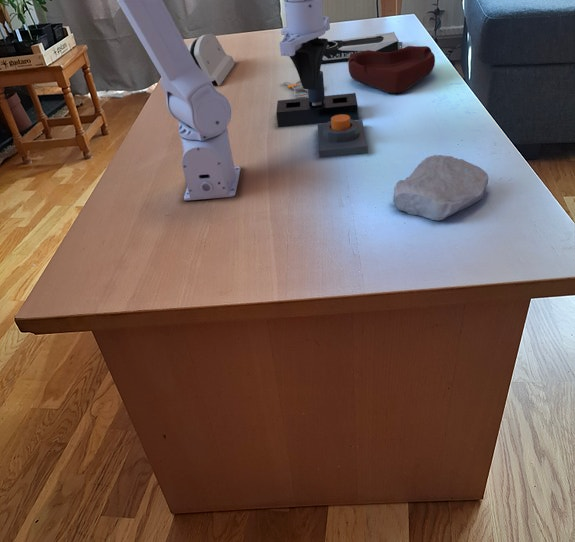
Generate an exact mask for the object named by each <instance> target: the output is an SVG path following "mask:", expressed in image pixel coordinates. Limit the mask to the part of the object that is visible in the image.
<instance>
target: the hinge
mask: <svg viewBox="0 0 575 542" xmlns="http://www.w3.org/2000/svg"><path fill="white" fill-rule="evenodd" d="M187 48H188V50H189V52H190V53H191V55H192V57H193V59H194V61H195V63H196V65H197V66H198V67H199V68H200V69H201V70H202V71H203V72H204V74H205V75H206V76H207V77H208V78H209V79H210V80H211V82H212V83H213V82H214V81H215V82H216V84H217V86H218V87H219V86H221V85H222V83H223V82H224V80H225V78H226V77H227V76H228V74H229V73H230V71H231V70H232V69H233V67H234V66H235V64H236V62H235V60H234V58H233V56H232V55H228V54H227V53H226V52H225V50H224V48H223V47H222V44H221V43H220V41H219V40H218V38H217V36H216V35H215V34H214V33H206V34H202V35H200V36H199V37H196V38H195V39H194V40H193V41H192V42H190V43H189V44H188V46H187Z"/></svg>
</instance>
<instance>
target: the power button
mask: <svg viewBox="0 0 575 542" xmlns="http://www.w3.org/2000/svg"><path fill="white" fill-rule="evenodd" d="M331 127H332V129H333V130H338V131H339V130H346V129H349V128H350V116H348V115H345V114H340V115H335V116H333V117H332V118H331Z"/></svg>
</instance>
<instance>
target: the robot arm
mask: <svg viewBox="0 0 575 542" xmlns="http://www.w3.org/2000/svg"><path fill="white" fill-rule="evenodd" d="M283 1H284V11H285V21H286V27H282V28H281V29H280V35H282V36H283V38H282V39H281V41H279V51H280V56H281V57H289V59H290V60H291V61H292V63H293V65H294V67H295V69H296V73H297V75H298V78H299V80H300V81H301V82H300V83H301V84H300V85H302V87H303V89H304V90H306V89H310V90H315V89H316V88H317V87H318V82H319V75H320V71H321V69H322V68H321V67H322V64H323V63H322V59H323V55H324V52H325V50H326V48H327V45H328V41H329V39H328V38H323V37H322V36H324V35H325V34H326V32H328V31H330V29H331V26H330V25H331V23H330V16H324V5H323V0H283ZM116 2H117V4H118V5H119V7H120V9H121V10H122V12H123V14H124V15H125V17H126V19H127V21H128V22H129V24H130V26H131V27H132V29H133V31H134V33H135V34H136V35H137V38H138V39H139V41H140V43H141V45H142V46H143V48H144V49H145V51H146V53H147V55H148V56H149V58H150V60H151V62H152V63H153V65H154V67H155V69H156V70H157V72H158V74H159V75H160V77H161V78H160V86H161V89H162V90H163V92H164V95H165V101H166V109H167V110H168V112H169V114H170V115H171V116H172V117H173V118H174V119H176V120H177V122H178V134H179V138H180V144H181V146H182V151H183V153H182V158H181V168H182V171H183V175H184V179H185V183H186V189H185V193H184V195H183V200H184V201H197V200H198V201H199V200H209V199H210V200H211V199H221V198H233V197H235V196H236V195H237V188H238V184H239V180H240V175H241V171H242V170H241V166H239V165H237V166H235V164H234V157H233V153H232V147H231V143H230V137H229V131H228V126H229V125H230V122H231V118H232V105H231V103H230V101H229V99H228V98H227V97H226V96H225V95H224V94H223V93H222V92H219V91H218V90H217V89H216V87H215V86H214V84H213V81H212V82H211V80H210V79H209V78H208V77H207V76H206V75H205V74H204V72H203V71H202V70H201V69H200V68H199V67H198V66H197V65H196V63H195V61H194V59H193V57H192V55H191V53H190V52H189V50H188V46H187V43H186V42H185V40H184V38H183V37H182V34H181V33H180V30H179V29H178V27H177V25H176V22H175V21H174V20H173V19H174V18H173V17H172V15H171V14H170V11H169V9H168V8H167V5H166V4H165V2H164V0H116ZM319 37H321V38H319ZM303 89H302V90H303Z"/></svg>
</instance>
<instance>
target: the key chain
mask: <svg viewBox="0 0 575 542" xmlns="http://www.w3.org/2000/svg"><path fill="white" fill-rule="evenodd" d="M300 83H301V81H300V79H299V81H297V82H296V83H291V82H289V81H284V82H283V85H284V86H286V87H287V88H288V89H289V88H291V89H293V95H294V97H303V96H307V95H308V89H303V86H302V84H300ZM302 90H303V91H304V92H305V91H306V92H307V93H303V94H297V91H302Z"/></svg>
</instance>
